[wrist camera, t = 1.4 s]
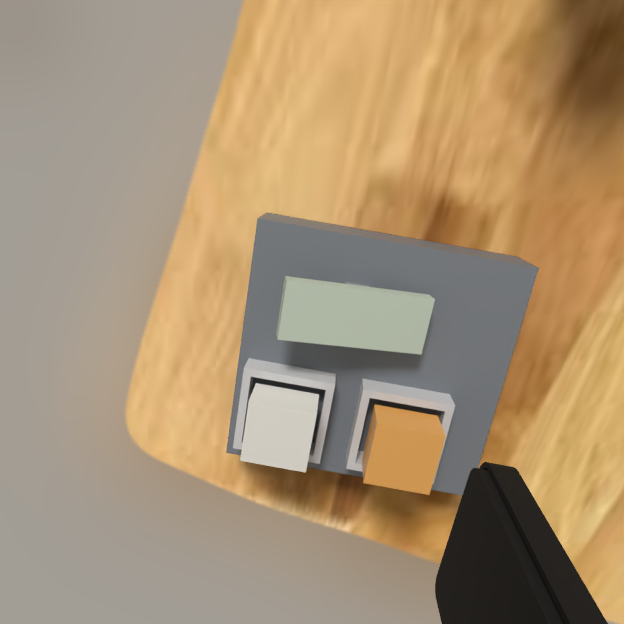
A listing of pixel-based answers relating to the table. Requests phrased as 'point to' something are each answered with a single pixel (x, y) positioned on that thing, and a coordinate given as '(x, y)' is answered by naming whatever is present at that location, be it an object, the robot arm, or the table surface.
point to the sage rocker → (353, 316)
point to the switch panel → (376, 363)
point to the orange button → (402, 449)
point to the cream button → (279, 427)
